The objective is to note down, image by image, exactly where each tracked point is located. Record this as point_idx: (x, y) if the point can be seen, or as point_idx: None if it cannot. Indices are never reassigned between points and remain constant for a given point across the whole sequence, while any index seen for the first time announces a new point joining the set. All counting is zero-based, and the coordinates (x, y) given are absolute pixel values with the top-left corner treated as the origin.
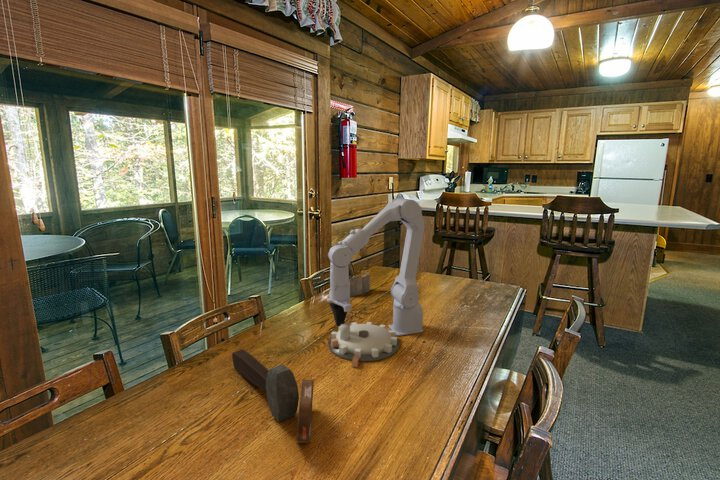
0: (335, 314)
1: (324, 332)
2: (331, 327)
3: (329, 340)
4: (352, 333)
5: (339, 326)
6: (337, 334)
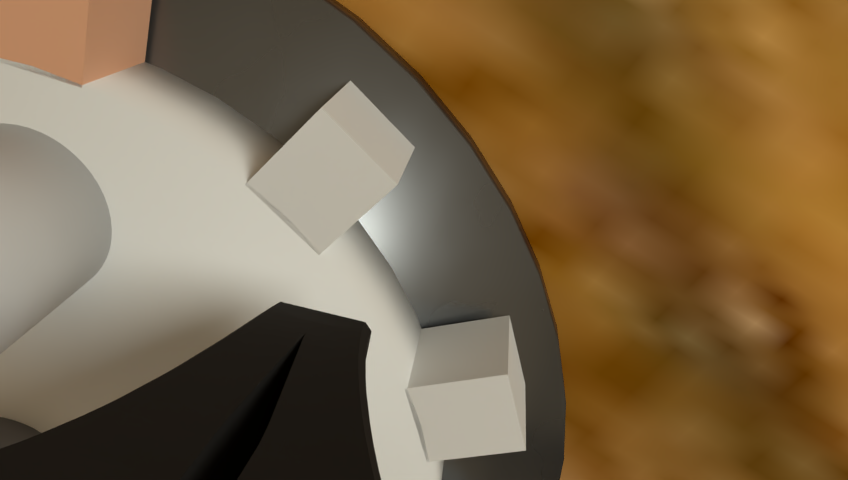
0: (32, 460)
1: (743, 167)
2: (813, 358)
3: (346, 40)
4: None
5: (511, 399)
6: (228, 189)
